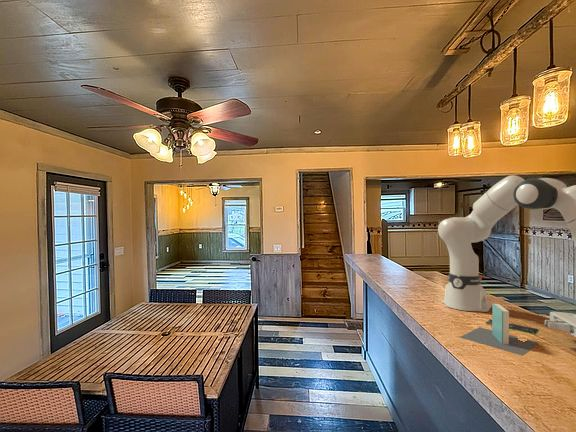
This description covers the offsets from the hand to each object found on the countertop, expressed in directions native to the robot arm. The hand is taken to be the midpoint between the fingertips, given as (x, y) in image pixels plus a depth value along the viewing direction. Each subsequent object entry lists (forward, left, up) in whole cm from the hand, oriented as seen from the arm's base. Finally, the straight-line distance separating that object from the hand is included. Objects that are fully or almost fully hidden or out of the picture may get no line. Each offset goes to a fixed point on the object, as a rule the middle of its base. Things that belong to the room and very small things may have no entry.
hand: (546, 324), depth 98 cm
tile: (+7, -10, -6) cm, 14 cm away
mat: (+8, -10, -6) cm, 14 cm away
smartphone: (-10, -12, -7) cm, 17 cm away
